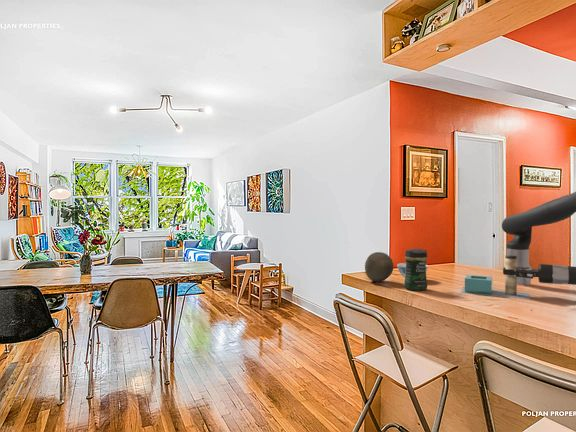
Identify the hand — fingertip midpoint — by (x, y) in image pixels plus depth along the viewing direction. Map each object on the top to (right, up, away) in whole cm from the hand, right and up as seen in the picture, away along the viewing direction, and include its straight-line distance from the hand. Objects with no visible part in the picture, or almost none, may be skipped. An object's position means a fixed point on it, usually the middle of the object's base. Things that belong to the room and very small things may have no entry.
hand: (503, 270), depth 156 cm
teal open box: (-8, -11, +5) cm, 14 cm away
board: (-3, -11, +2) cm, 11 cm away
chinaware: (-26, -10, +37) cm, 46 cm away
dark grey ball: (-44, -11, +32) cm, 56 cm away
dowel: (+2, -10, -1) cm, 10 cm away
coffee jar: (-32, -11, +15) cm, 37 cm away
